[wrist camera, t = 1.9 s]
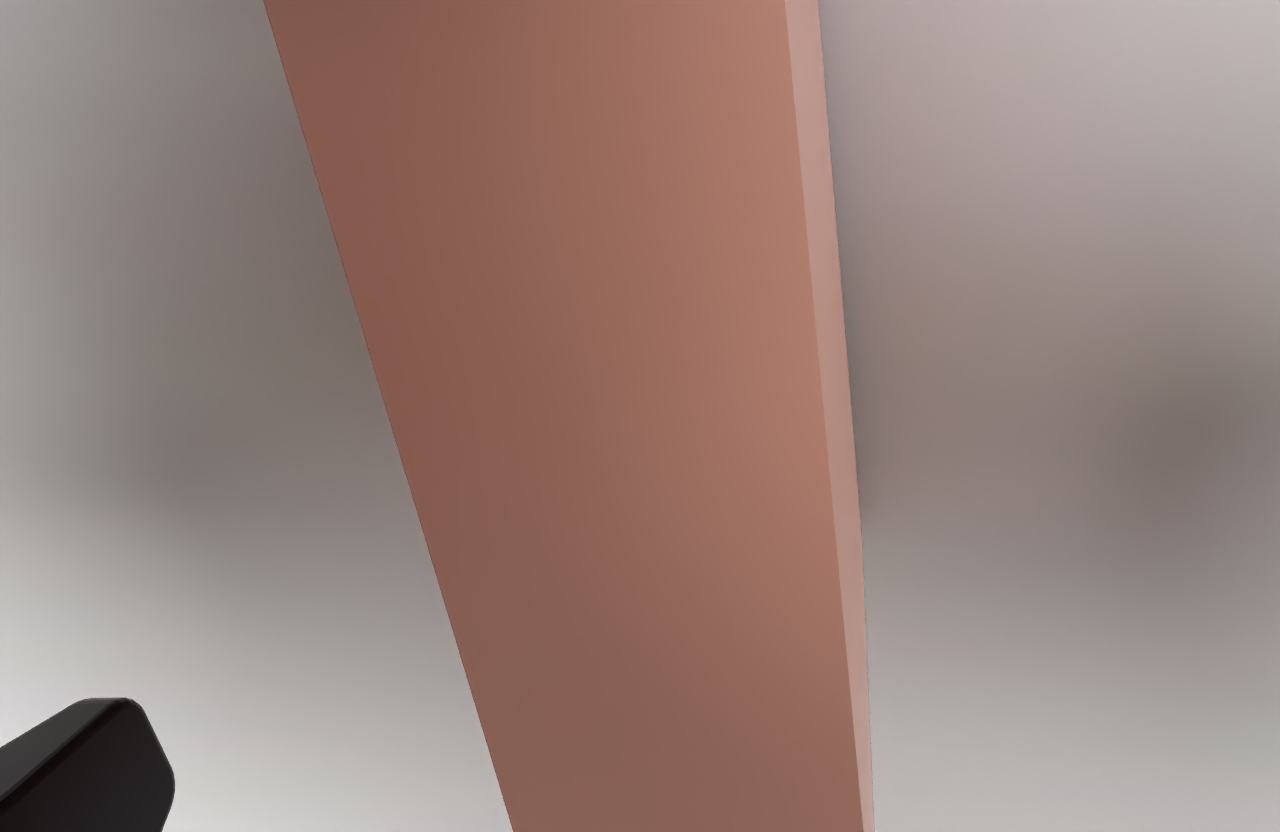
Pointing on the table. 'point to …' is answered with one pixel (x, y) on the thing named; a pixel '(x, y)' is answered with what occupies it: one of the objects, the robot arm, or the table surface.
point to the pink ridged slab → (613, 387)
